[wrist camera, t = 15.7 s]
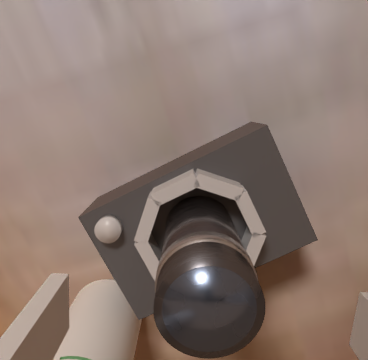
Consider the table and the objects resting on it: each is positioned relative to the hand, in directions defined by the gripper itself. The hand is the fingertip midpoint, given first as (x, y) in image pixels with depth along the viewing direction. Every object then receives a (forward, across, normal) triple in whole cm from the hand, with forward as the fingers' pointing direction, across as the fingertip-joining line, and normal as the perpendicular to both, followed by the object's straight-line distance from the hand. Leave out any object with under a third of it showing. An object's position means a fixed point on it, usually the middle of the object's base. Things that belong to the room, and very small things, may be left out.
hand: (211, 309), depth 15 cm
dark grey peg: (+11, 0, 0) cm, 11 cm away
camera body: (+17, 0, -1) cm, 17 cm away
